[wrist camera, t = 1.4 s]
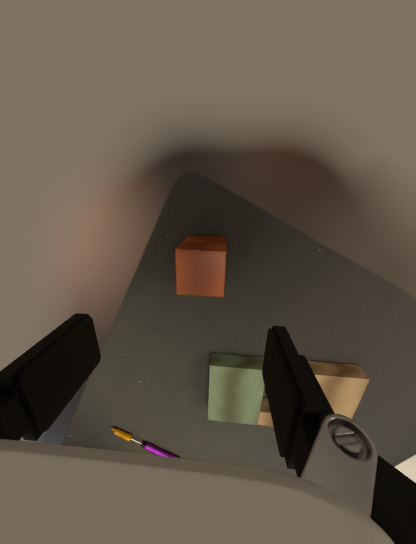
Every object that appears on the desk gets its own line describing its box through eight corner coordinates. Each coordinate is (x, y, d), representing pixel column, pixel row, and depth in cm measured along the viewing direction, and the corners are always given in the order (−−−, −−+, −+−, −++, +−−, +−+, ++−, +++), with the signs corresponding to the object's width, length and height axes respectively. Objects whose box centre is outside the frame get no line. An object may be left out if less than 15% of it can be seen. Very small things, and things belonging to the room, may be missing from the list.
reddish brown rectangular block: (226, 236, 24) (226, 251, 17) (224, 271, 25) (223, 297, 19) (188, 235, 24) (175, 249, 17) (189, 269, 25) (176, 294, 19)
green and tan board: (358, 364, 29) (369, 379, 26) (336, 417, 33) (345, 434, 31) (210, 352, 30) (209, 365, 28) (208, 404, 35) (207, 419, 32)
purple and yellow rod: (181, 457, 41) (113, 424, 39) (179, 465, 40) (109, 431, 38) (176, 459, 42) (110, 427, 40) (174, 466, 41) (107, 434, 39)
